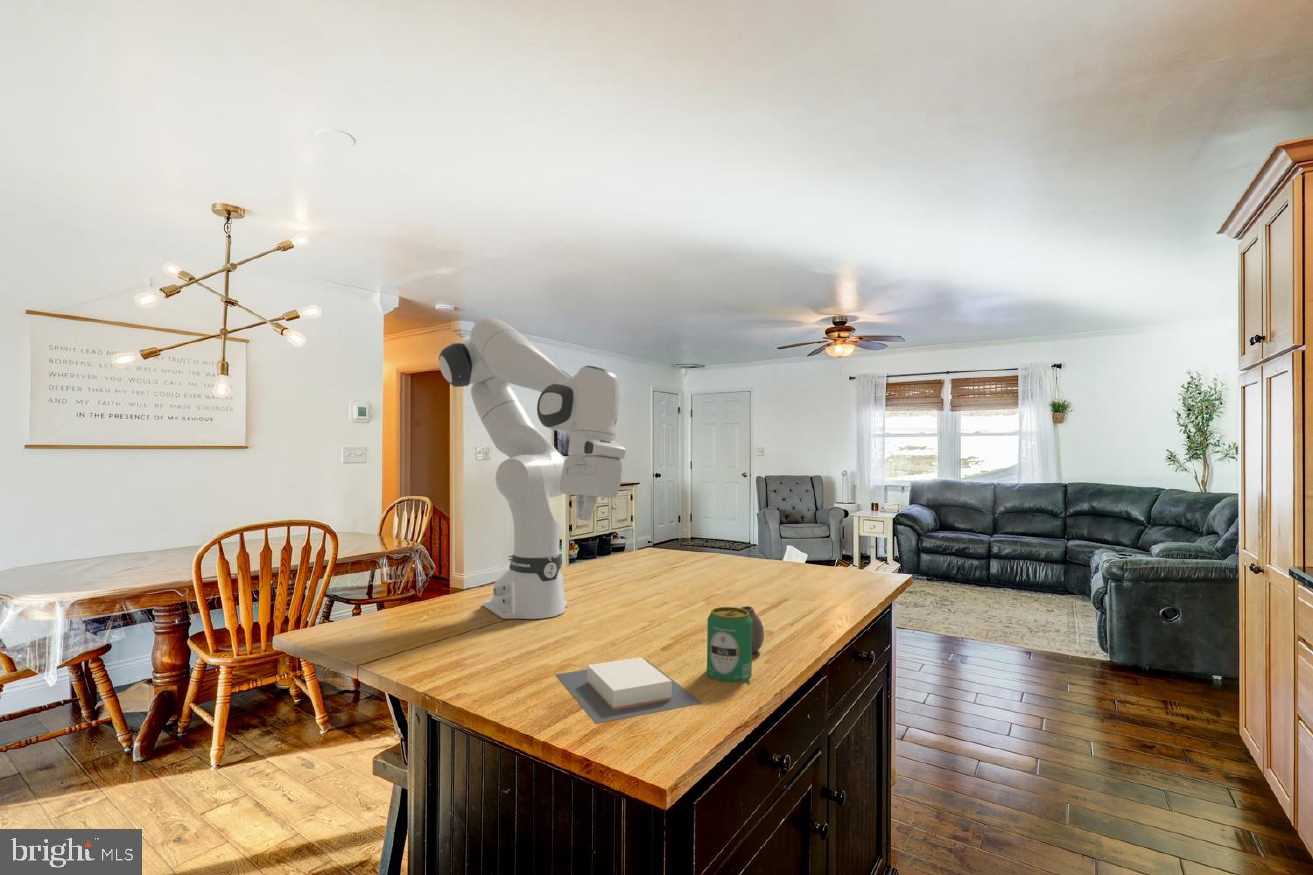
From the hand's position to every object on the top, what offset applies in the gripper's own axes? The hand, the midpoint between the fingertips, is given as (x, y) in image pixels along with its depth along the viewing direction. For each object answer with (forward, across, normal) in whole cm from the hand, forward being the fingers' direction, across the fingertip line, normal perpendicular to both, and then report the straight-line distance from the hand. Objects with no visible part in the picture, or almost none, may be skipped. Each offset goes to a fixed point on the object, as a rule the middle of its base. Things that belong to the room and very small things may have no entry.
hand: (583, 519), depth 118 cm
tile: (+25, +12, +4) cm, 28 cm away
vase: (+24, +9, +36) cm, 44 cm away
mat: (+28, +16, +4) cm, 32 cm away
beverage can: (+26, +19, +23) cm, 40 cm away
